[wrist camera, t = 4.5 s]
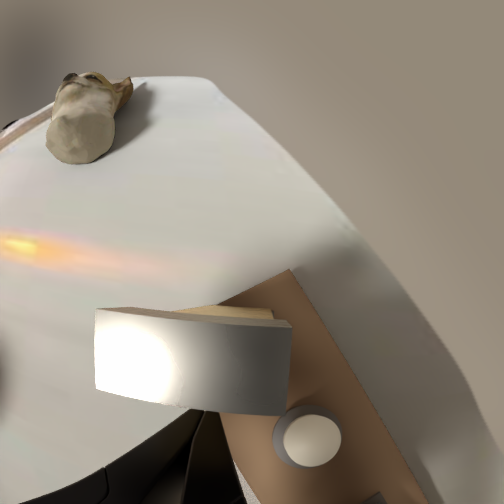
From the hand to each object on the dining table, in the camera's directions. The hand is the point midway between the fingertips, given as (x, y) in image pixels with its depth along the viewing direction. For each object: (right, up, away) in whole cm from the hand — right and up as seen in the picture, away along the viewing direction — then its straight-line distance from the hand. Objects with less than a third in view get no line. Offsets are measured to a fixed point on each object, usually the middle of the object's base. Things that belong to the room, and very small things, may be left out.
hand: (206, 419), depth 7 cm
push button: (+4, -5, +5) cm, 8 cm away
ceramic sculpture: (-16, +18, +21) cm, 32 cm away
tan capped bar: (+1, +1, +9) cm, 9 cm away
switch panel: (+5, -7, +6) cm, 11 cm away
